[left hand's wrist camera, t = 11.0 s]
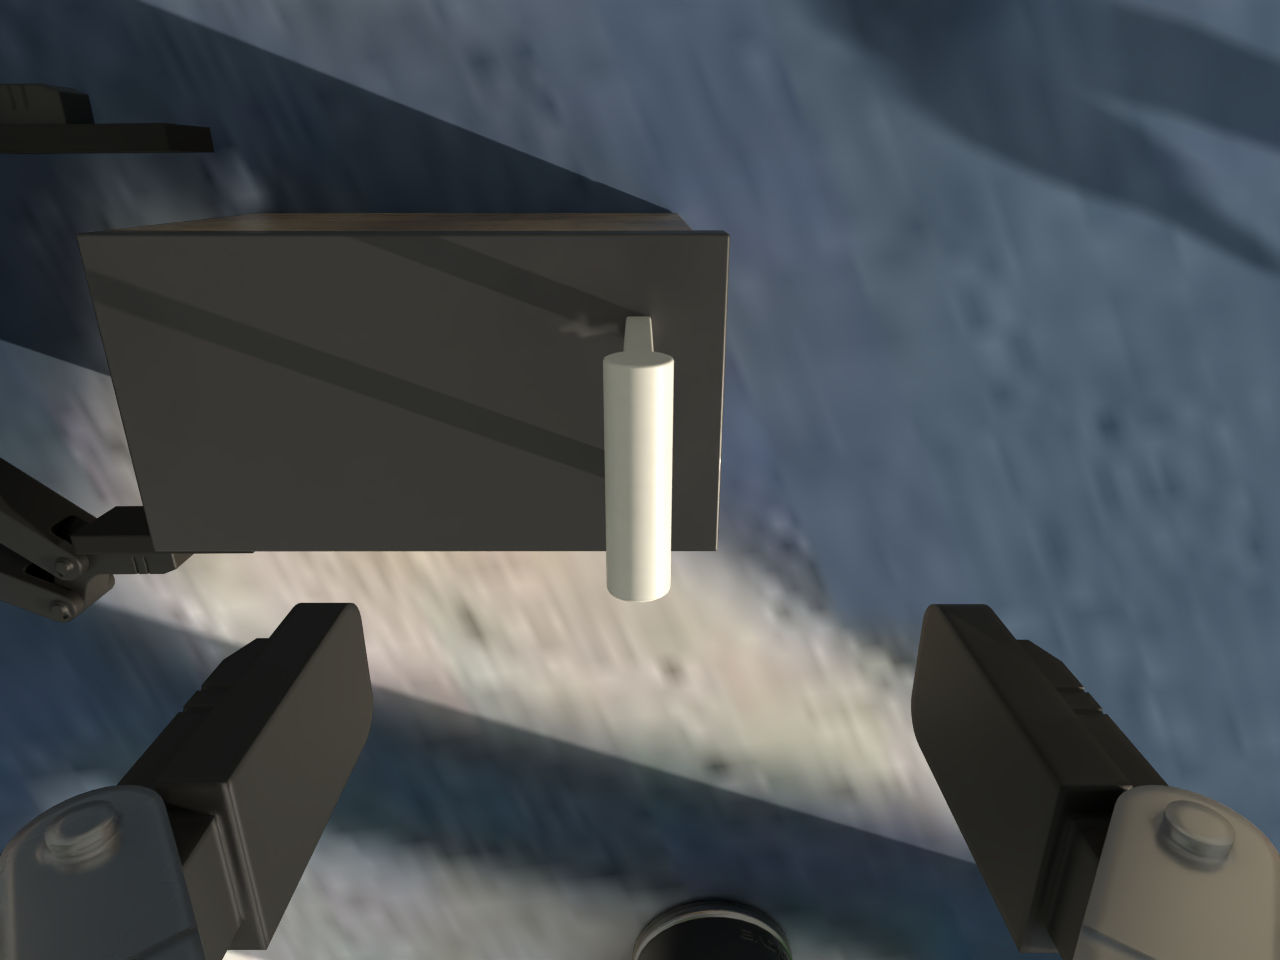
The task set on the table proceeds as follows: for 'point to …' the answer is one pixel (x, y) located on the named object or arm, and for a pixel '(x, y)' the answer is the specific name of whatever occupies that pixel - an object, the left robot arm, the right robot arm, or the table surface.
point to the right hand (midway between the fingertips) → (233, 350)
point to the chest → (430, 222)
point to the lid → (422, 389)
